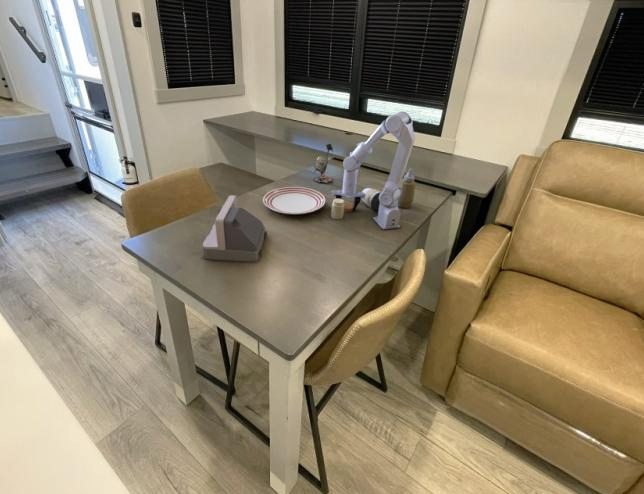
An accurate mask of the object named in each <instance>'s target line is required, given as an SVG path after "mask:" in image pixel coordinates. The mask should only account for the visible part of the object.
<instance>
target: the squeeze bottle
mask: <svg viewBox="0 0 644 494" xmlns="http://www.w3.org/2000/svg"><path fill="white" fill-rule="evenodd" d="M413 174H414V173H413V168H412V167H410V168H409V169H408V171H407V173H406V174H404V175H403V178H402V181H401V183H402V186H401V191H402V194H401V196H400V197H399V198H398V207H400V208H404V209H407V208H410V207H411V205H412V204H413V203H414V199H415V193H416V192H415V190H416V182H415V178H416V177H415V176H414V175H413Z"/></svg>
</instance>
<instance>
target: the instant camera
mask: <svg viewBox="0 0 644 494" xmlns="http://www.w3.org/2000/svg"><path fill="white" fill-rule="evenodd" d="M265 226H266V225H264V223H263V221H262V220H260V219H259V218H258V217H256V216H254V215H253V214H252V213H250V212H249V211H247V210H246V209H245V208H243V207H239V206H238V197H237V195H228V197H227V199H226V200H225V202H224V204H223V205H222V206H220V207H219V208H218V211H217V216H216V218H215V220H214V224H213V225H212V226H211V227H212V229H211V230H210V231H209V233H208V235H207V236H206V238H205V239H204V241H203V243H202V247H203V255H204V259H205V260H212V261H235V262H251V263H252V262H257V261H258V260H259V258H260V256H262V254H263V251H262V247H263V244H264V240H265V237H267V236H268V231H267V230H266V227H265Z"/></svg>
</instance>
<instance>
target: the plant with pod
mask: <svg viewBox="0 0 644 494" xmlns="http://www.w3.org/2000/svg"><path fill="white" fill-rule="evenodd" d="M325 146H326V150H327V154H326V158H325V157H323V156H321V155H318V157H317V158H316V161H315V162H314V165H313V166H314V171H313V172H312V175H314V174H315V173H316V172H317V171H318V173H320V176H318V177H317V178H315V179H314V181H316V182H318V183H321V182H322V183H325V184H328V183H329V182H332V181H334V180H333V179H331V178H329V176H328V175H326V170H327V168H328V163H329V162H328V159H327V158H328V156H329V152H330V151H332V152H334V150H333V149H334V146H333V144H332V143H331V142H329V143H326V145H325Z"/></svg>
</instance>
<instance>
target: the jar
mask: <svg viewBox="0 0 644 494" xmlns="http://www.w3.org/2000/svg"><path fill="white" fill-rule="evenodd" d="M344 203H345V200H344V199H343V198H342V199H336V198H334V199H333V202H332V203H331V210H330V211H331V212H330V217H331V218H332V219H333V220H342V219H344V214H345V212H344V206H345V204H344Z"/></svg>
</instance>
